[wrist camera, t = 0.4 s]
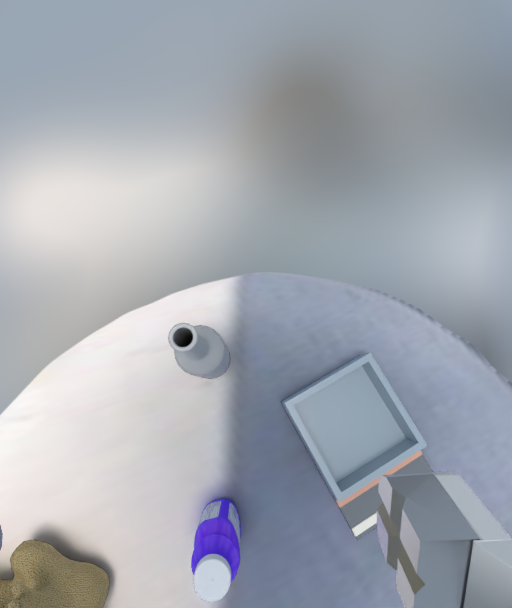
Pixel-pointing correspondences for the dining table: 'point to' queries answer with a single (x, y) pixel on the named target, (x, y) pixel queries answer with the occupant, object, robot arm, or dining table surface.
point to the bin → (353, 426)
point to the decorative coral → (52, 580)
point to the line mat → (375, 497)
